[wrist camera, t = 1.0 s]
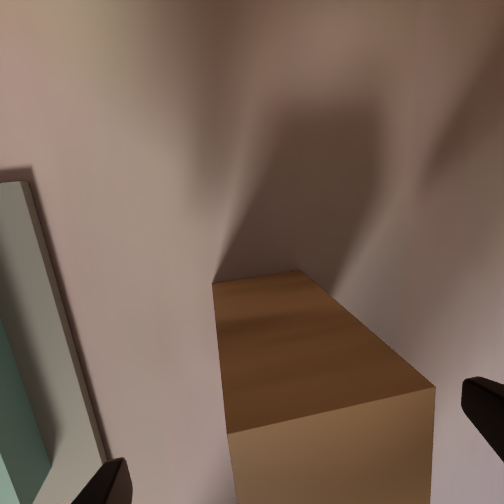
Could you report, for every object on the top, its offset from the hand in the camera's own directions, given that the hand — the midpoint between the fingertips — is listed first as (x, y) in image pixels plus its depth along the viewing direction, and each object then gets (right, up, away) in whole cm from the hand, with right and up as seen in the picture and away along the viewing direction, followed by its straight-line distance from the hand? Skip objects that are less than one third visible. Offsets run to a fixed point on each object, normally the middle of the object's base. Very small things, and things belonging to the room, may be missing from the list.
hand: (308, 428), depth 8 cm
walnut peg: (-1, +1, +6) cm, 6 cm away
